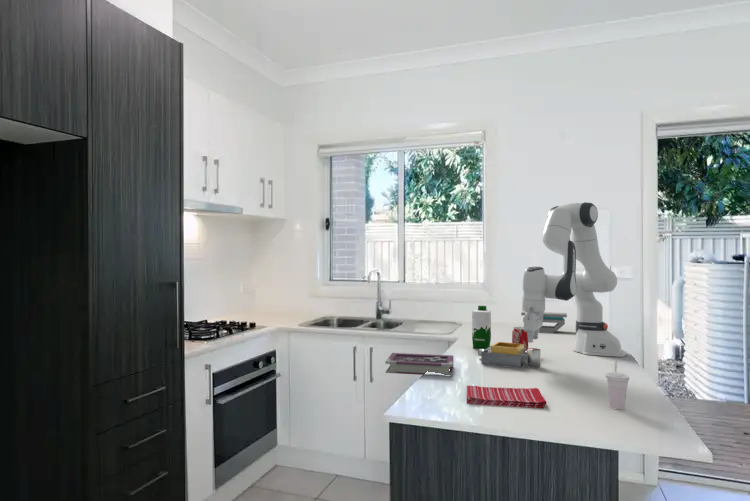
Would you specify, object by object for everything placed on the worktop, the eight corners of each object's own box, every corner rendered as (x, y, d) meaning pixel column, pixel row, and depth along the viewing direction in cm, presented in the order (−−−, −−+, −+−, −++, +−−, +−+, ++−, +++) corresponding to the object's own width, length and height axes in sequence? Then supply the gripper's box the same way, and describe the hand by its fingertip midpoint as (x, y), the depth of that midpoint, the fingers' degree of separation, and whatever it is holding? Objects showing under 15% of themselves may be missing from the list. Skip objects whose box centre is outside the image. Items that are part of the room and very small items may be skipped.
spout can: (541, 365, 199) (541, 348, 199) (539, 368, 194) (539, 351, 194) (525, 364, 201) (525, 347, 202) (523, 366, 197) (523, 349, 197)
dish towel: (547, 410, 144) (547, 402, 144) (466, 405, 148) (466, 397, 148) (539, 394, 161) (539, 386, 161) (466, 390, 165) (466, 382, 165)
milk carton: (491, 346, 239) (492, 305, 239) (489, 349, 231) (489, 307, 231) (474, 345, 242) (474, 305, 242) (470, 348, 234) (470, 307, 234)
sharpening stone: (566, 331, 285) (566, 313, 285) (566, 333, 278) (566, 314, 278) (521, 329, 294) (522, 311, 294) (521, 331, 286) (521, 312, 286)
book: (385, 374, 186) (385, 361, 186) (391, 364, 202) (391, 352, 202) (452, 377, 181) (452, 364, 181) (453, 367, 197) (453, 355, 197)
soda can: (529, 356, 217) (529, 329, 217) (512, 355, 218) (512, 328, 218) (527, 353, 224) (527, 327, 224) (511, 352, 225) (511, 326, 225)
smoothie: (601, 404, 148) (601, 358, 148) (621, 404, 149) (621, 358, 149) (613, 411, 142) (613, 363, 142) (634, 410, 142) (634, 363, 142)
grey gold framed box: (527, 361, 206) (527, 343, 206) (520, 368, 194) (520, 349, 194) (481, 356, 216) (481, 339, 216) (472, 362, 204) (472, 344, 204)
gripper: (536, 309, 187) (536, 345, 187) (546, 305, 205) (545, 338, 205) (520, 308, 190) (519, 343, 190) (530, 304, 208) (530, 336, 208)
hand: (533, 340), depth 197 cm, fingers open, 8 cm apart
